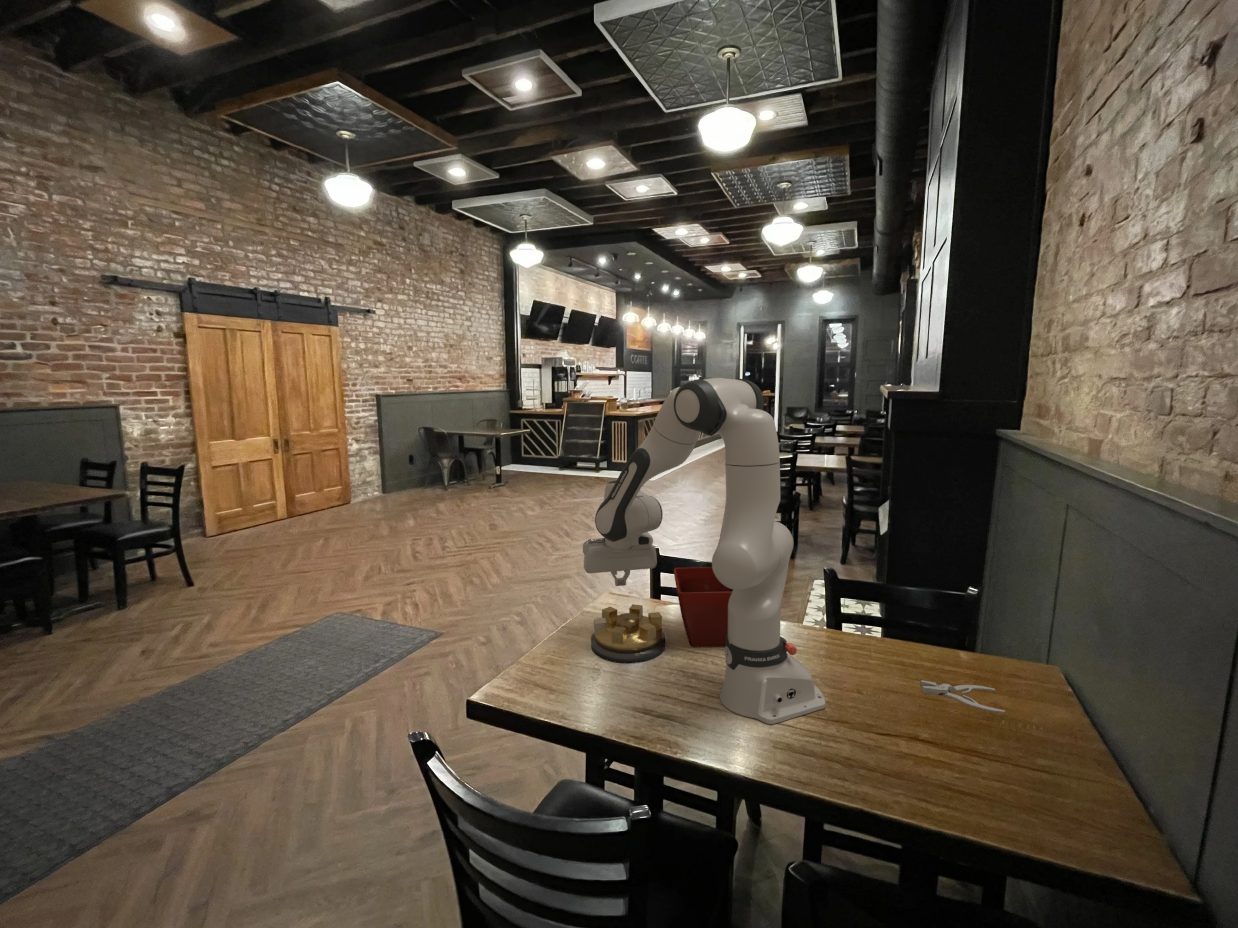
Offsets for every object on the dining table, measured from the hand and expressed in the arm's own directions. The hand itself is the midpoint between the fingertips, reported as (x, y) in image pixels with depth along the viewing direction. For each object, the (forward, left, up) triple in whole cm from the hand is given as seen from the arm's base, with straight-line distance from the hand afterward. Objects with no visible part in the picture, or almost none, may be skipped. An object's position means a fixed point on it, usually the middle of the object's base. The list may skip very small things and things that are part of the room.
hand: (620, 585), depth 157 cm
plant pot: (-23, +9, -14) cm, 29 cm away
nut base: (0, +8, -14) cm, 16 cm away
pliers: (-66, +49, -15) cm, 83 cm away
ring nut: (0, +8, -12) cm, 14 cm away
